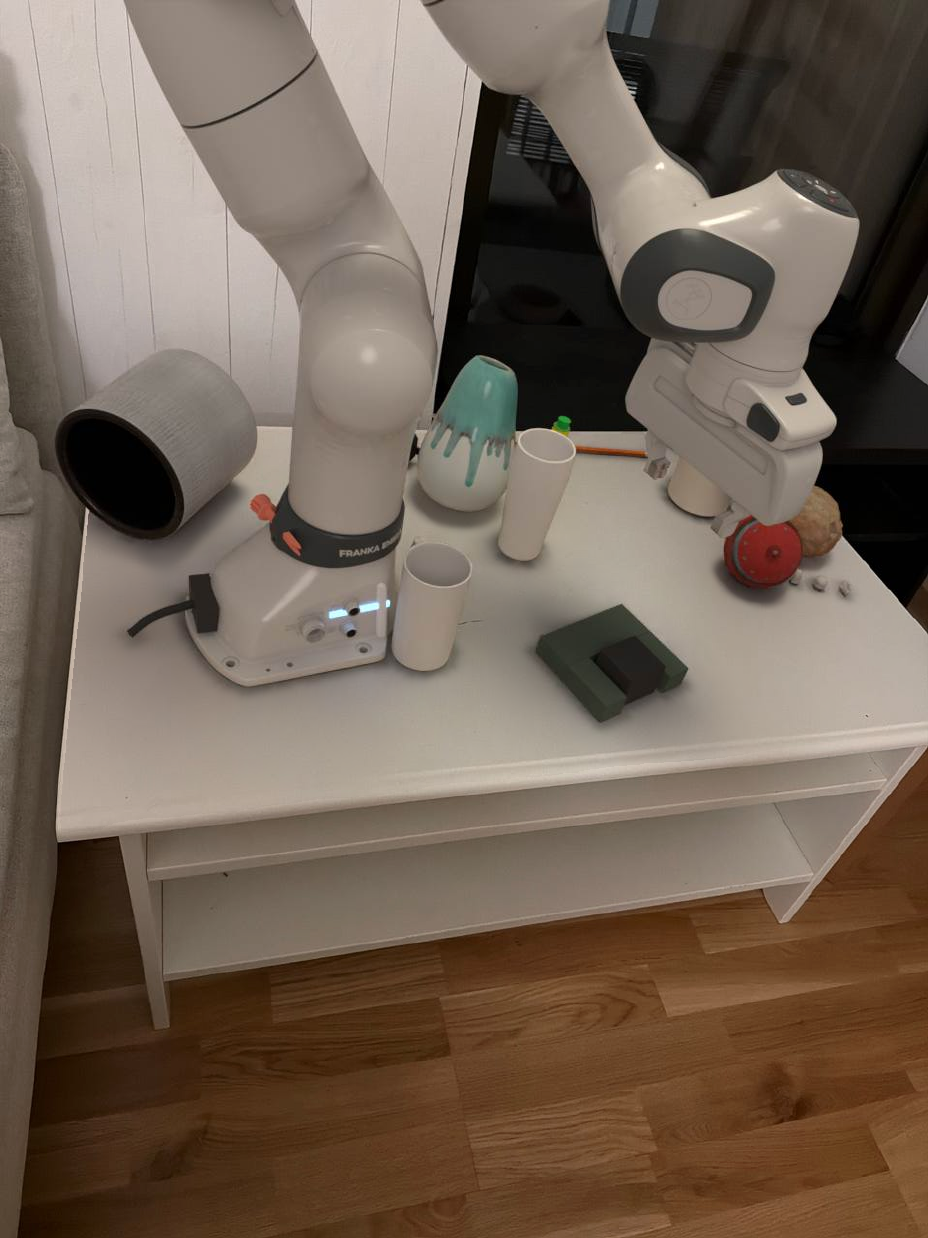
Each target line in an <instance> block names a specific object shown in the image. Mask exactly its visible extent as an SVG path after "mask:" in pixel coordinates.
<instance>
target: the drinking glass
mask: <svg viewBox="0 0 928 1238" xmlns="http://www.w3.org/2000/svg"><path fill="white" fill-rule="evenodd" d="M516 442H517V443H516V446H515V449H514V453H513V456H512V460H511V465H510V470H509V476H508V483H507V489H506V491H505V497H504V505H503V511H502V515H501V516H502V517H501V524H500V530H499V533H498V537H497V546H498V548H499V550H500V551H501V553H503V555H505V556H506V557H508V558H509V559H512V560H515V561H521V562H529V561H532V560H534V559H536V558H538V556H539V555H540V554H541V552H542V549H543V545H544V542H545V539H546V536H547V534H548V532H549V530H550V527H551V525H552V522H553V519H554V517H555V515H556V512H557V510H558V508H559V505H560V503H561V501H562V498H563V496H564V493H565V491H566V489H567V486H568V483H569V480H570V478H571V474H572V471H573V467H574V463H575V459H576V455H577V451H576V448H575V446H576V445H575V444H574V443H573V441H572V440H571V439H570V438H569V437H568V438H567V437H566V436H564V435H562V434H561V433H558V432H556V431H553V430H552V429H548V428H541V427H536V428H529V429H526V430H523V431H522V432H521V433H520V434H519V435H518V438H517V439H516Z"/></svg>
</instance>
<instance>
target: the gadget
mask: <svg viewBox="0 0 928 1238" xmlns="http://www.w3.org/2000/svg"><path fill="white" fill-rule="evenodd" d="M802 553H803V546H802V540H801V537H800V534H799V532H798V531H797V529H796V527H794V526H793V525H792V523H790V521H789V520H788V521H786V522H783V523H779V524H775V525H771V526H765V525H763V524H762V523H760V522H759V521H758V520H757V519H756V518H755V517H753V516H752V515H750V516H748V517H747V518H745V519H743V520H741V521H739V523H738V525H737V527H736V529H735V531H734V533H733V534H732V535H730V536H728V537H725V538H724V544H723V559H724V563H725V565H726V568H727V570H728V572H729V573H730V574H731V576H733V577H734V579H736V580H737V581H738V582H740V584H743V585H745V586H747V587H749V588H752V589H756V590H757V589H759V588H761V589H763V590H768V589H772V588H773V587H776V586H781V585H782V584H784V583H786V581H788V580H789V579H790V577H791V576H792V575H793V574H794V573H795V571H796V570H797V569H799V567H800V565H801V562H802V559H803V557H802Z"/></svg>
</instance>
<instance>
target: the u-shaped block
mask: <svg viewBox="0 0 928 1238" xmlns="http://www.w3.org/2000/svg"><path fill="white" fill-rule="evenodd" d="M632 636H636V637H637V638H638V639H639V640H640V641H641V642H642V643H643V644H644V645H645V646H646V647H647V648H648V649H649V650H650V651H651V652H652V653H653V654H654V655H655V656H656V657H657V658H658V659H659V660H660V661H661V662H662V663H663V664H664V665H665V666H666V668H665V670H664V672H663V674H662V676H661V679H660V681H659V683H658V685H657V687H656V688H658V689H659V691H661V692H662V693H665V692H667V691H670V690H671V689H674V688H676V687H678V686H680V685H681V684H683V681H684V679H685V677H686V675H687V673H688V671H689V667H688V666H687V665H686V664H685V663H684V662H683V661H682V660H681V659H680V658H679V657H677V655H676V654H675V653H674V652H672V651H671V649H670V648H668V647H667V646H666V645H665V644H664V643H663V642H662V641H661V640H660V639H659V638H658V637H657V636H656V635H655V634H654V633H653V632H652V631H651V630H650V629H649V628H648V627H647V626H646V625H644V623H643V622H642V621H640V620H639V619H638V617H636V616H635V615H634V614H633V613H632V611H630V610H629V609H628V608H627V607H626V606H625V605H624V604H623V603H619V604H617V605H615V606H612V607H610V608H608V609H605V610H602V611H599V612H597V613H594V614H592V615H589V616H587V617H584V618H582V619H580V620H577V621H575V622H572V623H569V624H567V625H564V626H561V627H560V628H557V629H554V630H552V631H549V632H546V633H544V634H541V635H540V636H539V638H538V641H537V645H536V647H535V651H534V652H535V654H536V655H537V656H538V657H539V658H540V659H541V660H542V661H543V663H545V665H546V666H547V667H548V668H549V669H550V670H551V671H552V672H553V673H554V674H555V675H556V676H557V678H558V679H559V680H560V681H561V682H562V683H563V684H564V685H565V687H566V688H567V689H569V691H570V693H572V694H573V695H574V697H576V698H577V700H579V701H580V703H581V704H582V705H583V706H584V708H586V709H587V710H588V711H589V712H590V713H591V715H592V716H593V717H594V718H595V719H597V721H598V722H599V723H603V722H604V721H605V722H606V721H607V720H609V719H611V718H613V717H615V716H618V715H619V714H622V710H623V708H624V706H625V705H624V704H625V702H626V699H627V696H626V695H625V694H624V693H623V692H622V691H621V690H620V689H619V688H618V687H617V686H616V685H615V684H614V683H613V682H612V681H611V680H610V679H609V678H608V676H607V675H606V674H605V673H604V672H603V671H602V670H601V669H600V668H599V667H598V666H597V665H596V664H595V662H596V660H597V657H598V655H599V652H600V650H601V649H603V648H605V647H608V646H610V645H613V644H615V643H618V642H620V641H623V640H625V639H628V638H630V637H632Z"/></svg>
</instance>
